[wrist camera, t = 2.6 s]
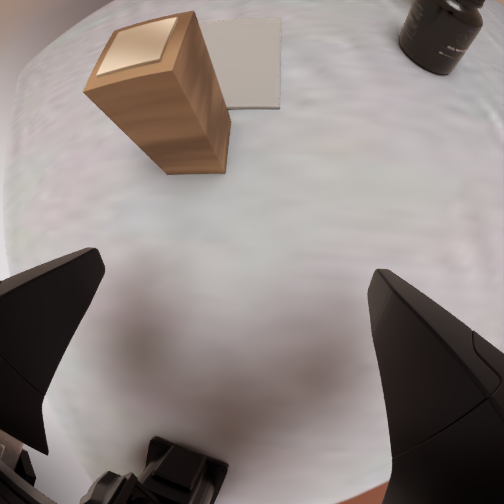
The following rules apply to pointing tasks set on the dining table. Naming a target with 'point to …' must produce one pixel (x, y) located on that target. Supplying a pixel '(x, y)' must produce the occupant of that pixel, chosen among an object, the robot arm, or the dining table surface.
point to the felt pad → (246, 60)
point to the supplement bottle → (440, 32)
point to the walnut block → (164, 94)
